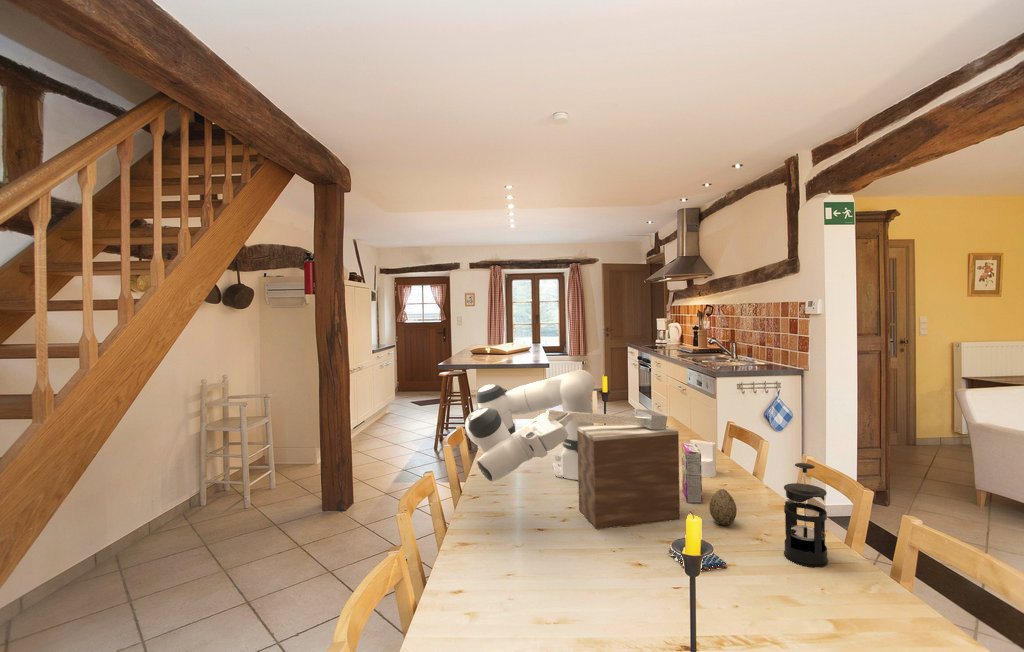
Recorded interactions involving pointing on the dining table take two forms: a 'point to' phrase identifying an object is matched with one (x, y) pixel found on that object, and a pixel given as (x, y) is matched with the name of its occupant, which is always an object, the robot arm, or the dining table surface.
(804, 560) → the french press
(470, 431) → the robot arm
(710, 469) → the base with upright slab
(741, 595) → the dining table surface
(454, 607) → the dining table surface
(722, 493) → the decorative egg
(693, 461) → the candy bar box
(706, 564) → the woven mat
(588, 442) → the dark wood block
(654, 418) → the bar
